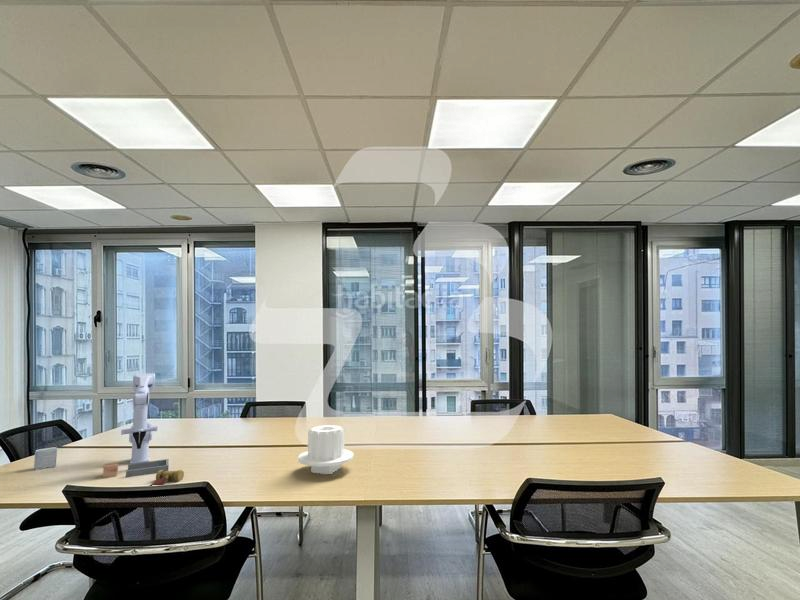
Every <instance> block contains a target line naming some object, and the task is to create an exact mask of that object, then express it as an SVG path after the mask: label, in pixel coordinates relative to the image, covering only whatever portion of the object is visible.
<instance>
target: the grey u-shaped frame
mask: <svg viewBox="0 0 800 600" xmlns="http://www.w3.org/2000/svg"><path fill="white" fill-rule="evenodd" d="M169 465H170V463H169V458H166V459H164V458H163V459H159V460H158V459H157V460H149V461H146V462H138V463H128V464H127V470H126V471H125V478H129V477H135V476H143V475H150V474H157V472H158V471H159V470H165V471H169Z"/></svg>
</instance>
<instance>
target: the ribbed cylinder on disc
mask: <svg viewBox="0 0 800 600" xmlns="http://www.w3.org/2000/svg"><path fill="white" fill-rule="evenodd" d="M297 459H298V463H300V464H302V465H304V466H310V467H311V473H312V474H313V473H314V474H319V473H320V474H319V475H327V474H331V475H333V474H334V473H335V471H336V472H337V471H339V470H340V469H341V465H342V464H347V463H349V462H350V461H352V460H353V459H354V452H353V451H351V450H349V449H345V428H344V427H342V426H341V425H333V424H332V425H331V424H326V425H324V424H323V425H317V426H314V427H313V426H312V427H311V428H310V429H308V431H307V451H303V452H301V453H300V454H299V455H298V457H297ZM338 469H339V470H338ZM333 472H334V473H333Z"/></svg>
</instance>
